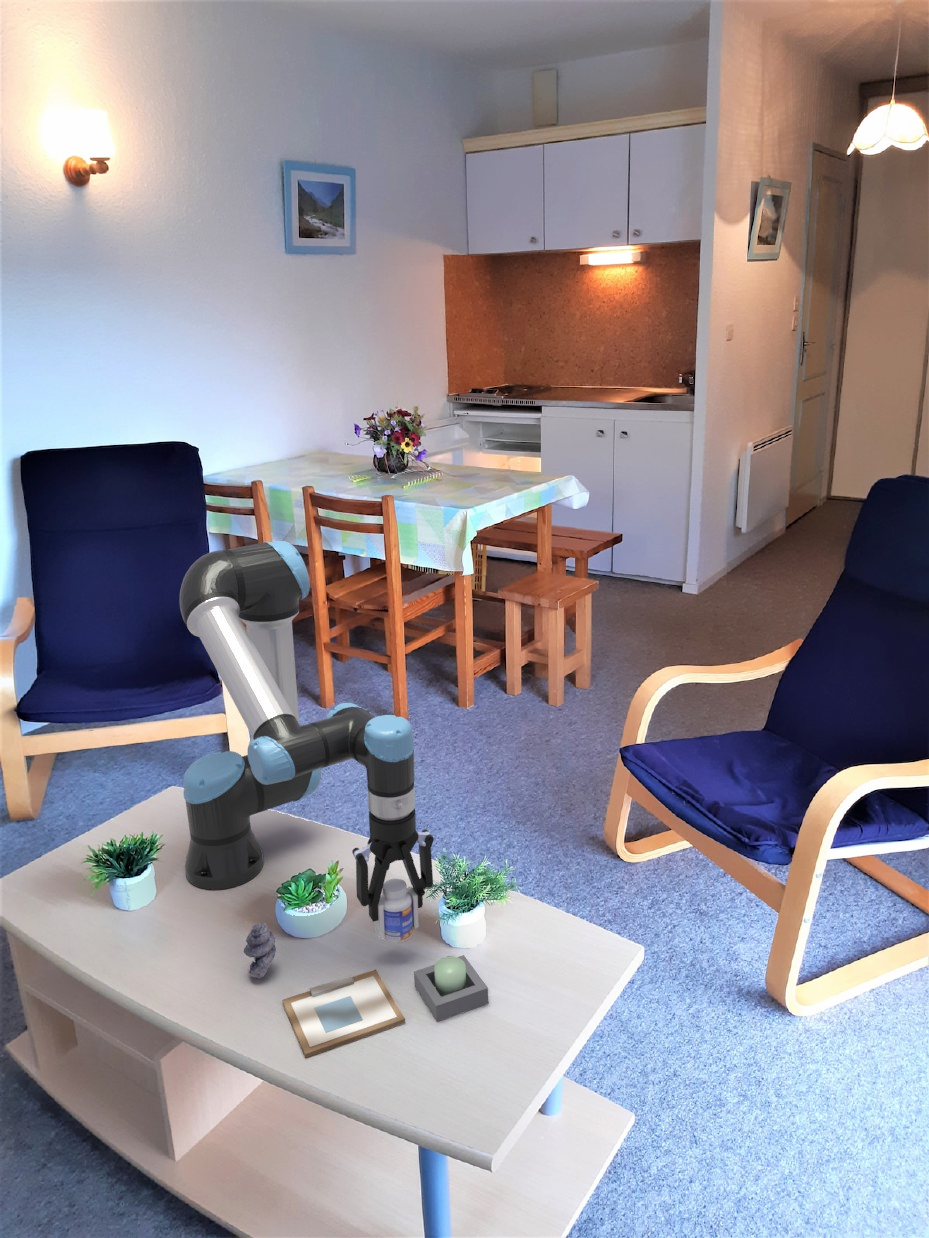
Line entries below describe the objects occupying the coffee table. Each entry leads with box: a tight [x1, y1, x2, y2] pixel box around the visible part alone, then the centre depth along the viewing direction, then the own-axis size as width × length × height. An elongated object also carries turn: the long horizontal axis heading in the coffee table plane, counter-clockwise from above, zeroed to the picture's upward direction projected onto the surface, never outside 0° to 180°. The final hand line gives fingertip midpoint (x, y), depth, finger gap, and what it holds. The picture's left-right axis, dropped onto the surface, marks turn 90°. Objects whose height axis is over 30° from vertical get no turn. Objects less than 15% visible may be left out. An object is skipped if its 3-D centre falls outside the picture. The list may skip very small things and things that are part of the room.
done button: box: [434, 956, 467, 997], centre depth 153 cm, size 5×5×4 cm
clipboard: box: [282, 969, 406, 1059], centre depth 150 cm, size 13×16×2 cm
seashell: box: [243, 922, 277, 980], centre depth 158 cm, size 5×5×10 cm
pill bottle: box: [380, 878, 414, 944], centre depth 160 cm, size 5×5×10 cm
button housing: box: [413, 954, 489, 1022], centre depth 153 cm, size 9×9×3 cm
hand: (396, 928), depth 161 cm, fingers closed on pill bottle, 5 cm apart
